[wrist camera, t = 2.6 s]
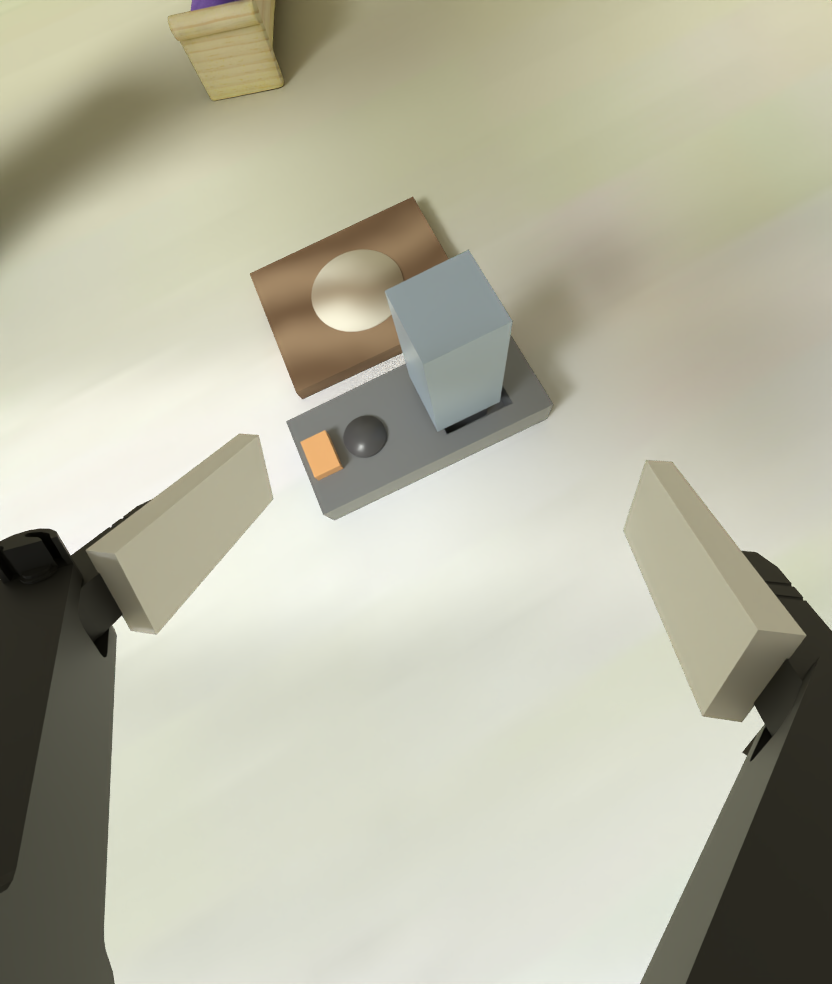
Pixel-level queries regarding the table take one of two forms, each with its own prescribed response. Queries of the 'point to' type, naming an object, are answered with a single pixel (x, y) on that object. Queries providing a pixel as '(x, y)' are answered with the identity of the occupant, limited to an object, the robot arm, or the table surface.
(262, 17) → the toy sofa
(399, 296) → the brick
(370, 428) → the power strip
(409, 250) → the walnut pad
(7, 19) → the table surface
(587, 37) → the table surface
